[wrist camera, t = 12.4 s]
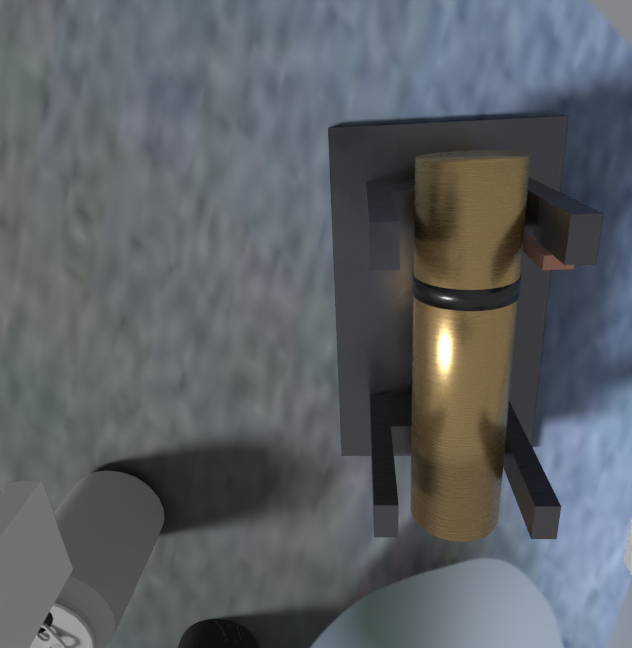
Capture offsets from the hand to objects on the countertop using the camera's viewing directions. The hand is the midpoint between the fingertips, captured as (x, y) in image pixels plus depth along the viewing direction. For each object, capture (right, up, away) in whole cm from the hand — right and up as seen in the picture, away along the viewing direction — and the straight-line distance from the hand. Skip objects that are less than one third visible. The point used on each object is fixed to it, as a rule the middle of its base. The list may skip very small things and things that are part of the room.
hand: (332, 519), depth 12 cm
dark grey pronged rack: (+7, +6, +23) cm, 25 cm away
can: (-16, -10, +31) cm, 36 cm away
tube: (+8, +4, +19) cm, 20 cm away
